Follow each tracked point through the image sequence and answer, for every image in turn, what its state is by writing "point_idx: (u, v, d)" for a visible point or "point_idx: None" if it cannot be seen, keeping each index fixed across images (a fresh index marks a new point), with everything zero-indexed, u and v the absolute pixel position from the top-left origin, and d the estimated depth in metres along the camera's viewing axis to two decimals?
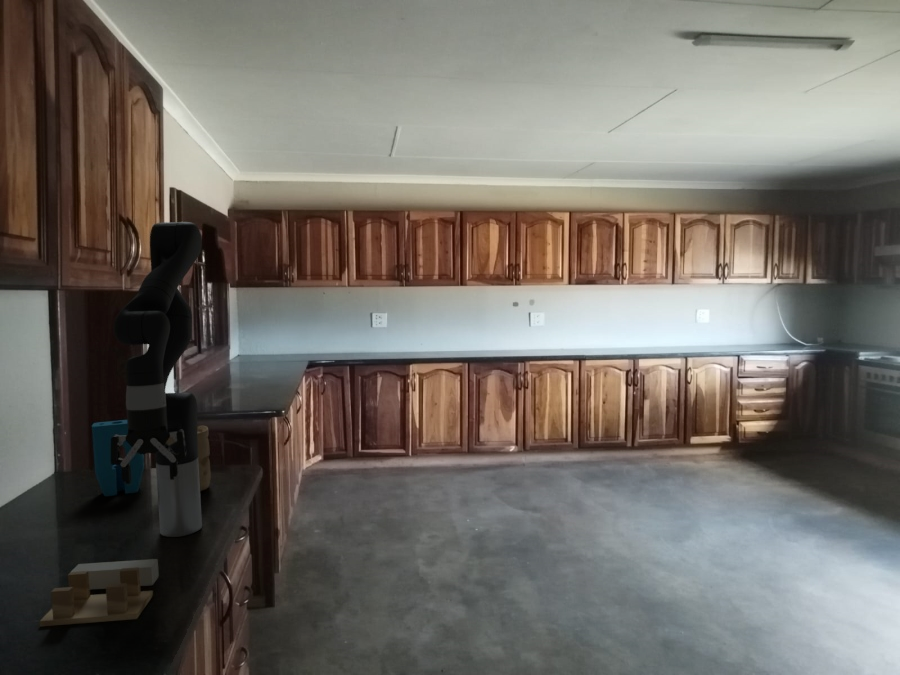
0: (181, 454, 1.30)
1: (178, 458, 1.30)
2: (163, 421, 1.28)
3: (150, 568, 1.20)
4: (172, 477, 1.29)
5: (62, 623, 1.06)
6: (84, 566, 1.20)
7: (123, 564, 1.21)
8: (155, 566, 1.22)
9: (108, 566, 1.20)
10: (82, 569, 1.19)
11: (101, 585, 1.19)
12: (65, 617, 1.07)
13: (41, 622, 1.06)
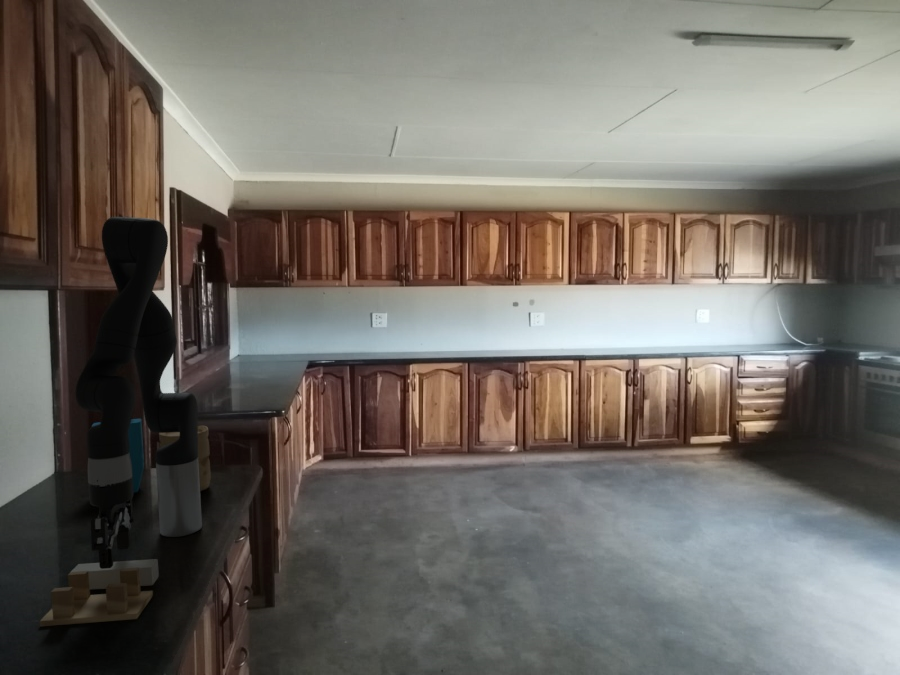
0: (132, 518, 1.26)
1: None
2: None
3: (150, 568, 1.19)
4: (129, 545, 1.24)
5: (62, 623, 1.06)
6: (84, 566, 1.20)
7: (123, 564, 1.21)
8: (155, 566, 1.22)
9: None
10: (82, 569, 1.19)
11: (101, 585, 1.19)
12: (65, 617, 1.07)
13: (41, 622, 1.06)
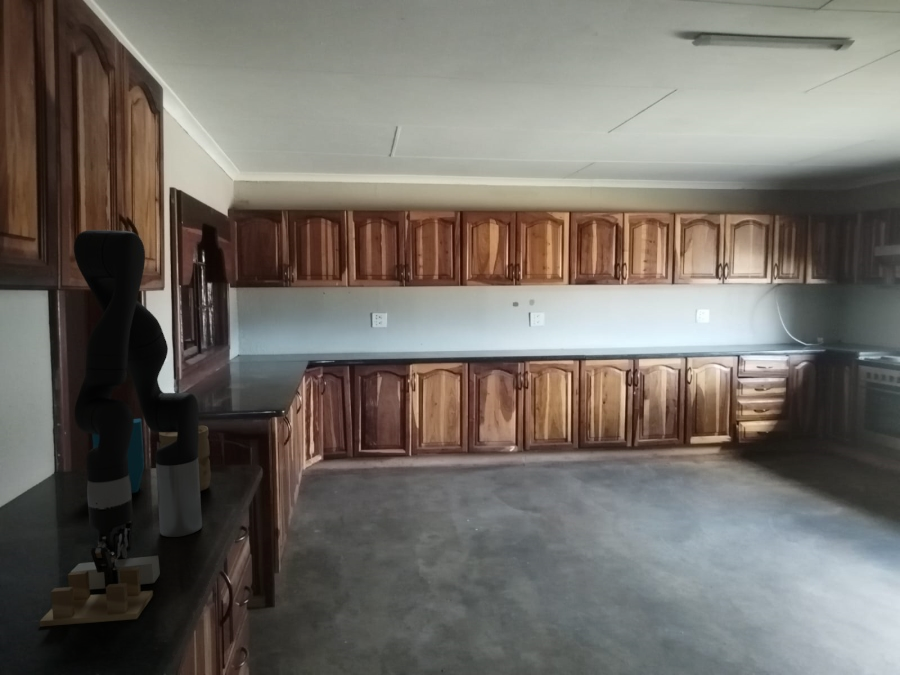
0: (129, 546, 1.25)
1: None
2: None
3: (150, 565, 1.20)
4: None
5: (62, 623, 1.06)
6: (85, 565, 1.20)
7: (124, 562, 1.21)
8: (156, 562, 1.22)
9: None
10: (83, 568, 1.19)
11: (102, 583, 1.19)
12: (65, 617, 1.07)
13: (41, 622, 1.06)
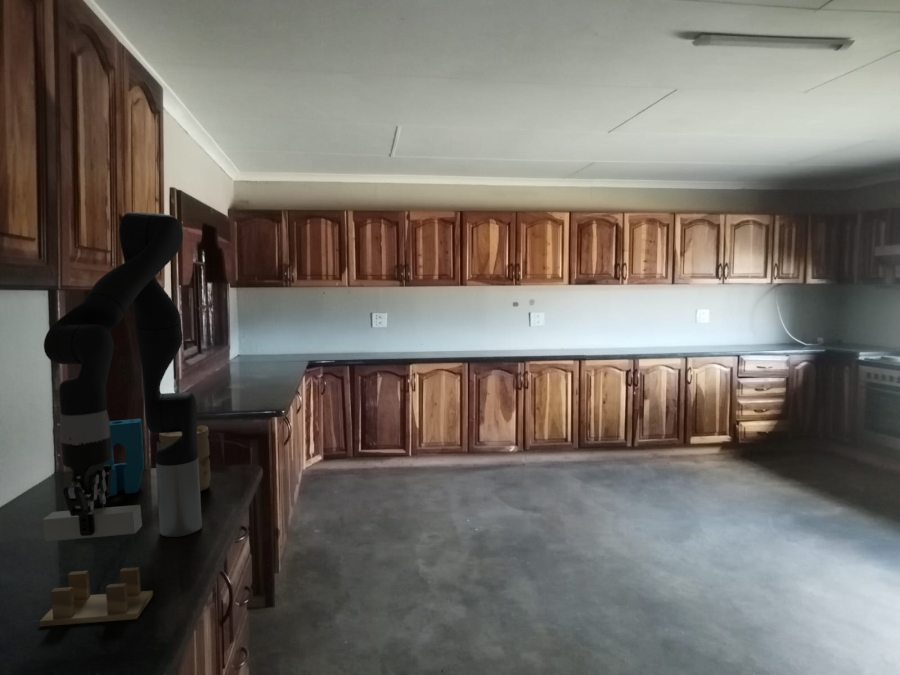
0: (108, 492, 1.13)
1: None
2: None
3: (131, 513, 1.08)
4: None
5: (62, 623, 1.06)
6: (59, 513, 1.09)
7: (102, 510, 1.09)
8: (138, 512, 1.11)
9: None
10: (56, 516, 1.08)
11: (78, 533, 1.07)
12: (65, 617, 1.07)
13: (41, 622, 1.06)
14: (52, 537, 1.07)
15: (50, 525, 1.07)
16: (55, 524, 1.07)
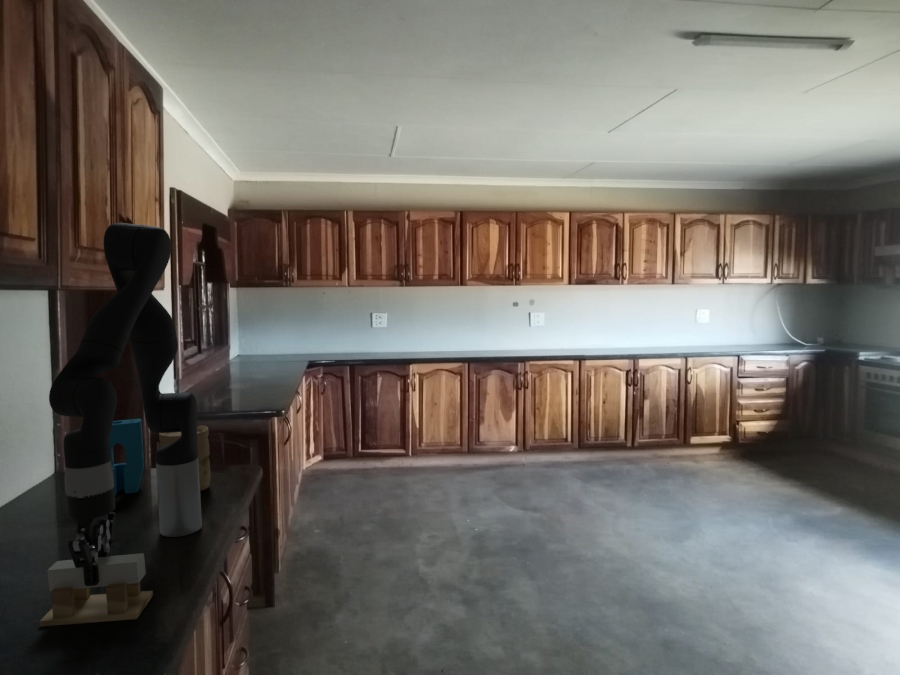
0: (112, 540, 1.14)
1: None
2: None
3: (135, 563, 1.09)
4: None
5: (62, 623, 1.06)
6: (63, 563, 1.10)
7: (106, 560, 1.10)
8: (141, 560, 1.12)
9: None
10: (61, 566, 1.09)
11: (82, 583, 1.08)
12: (65, 617, 1.07)
13: (41, 622, 1.06)
14: (57, 587, 1.08)
15: (55, 576, 1.08)
16: (60, 575, 1.08)
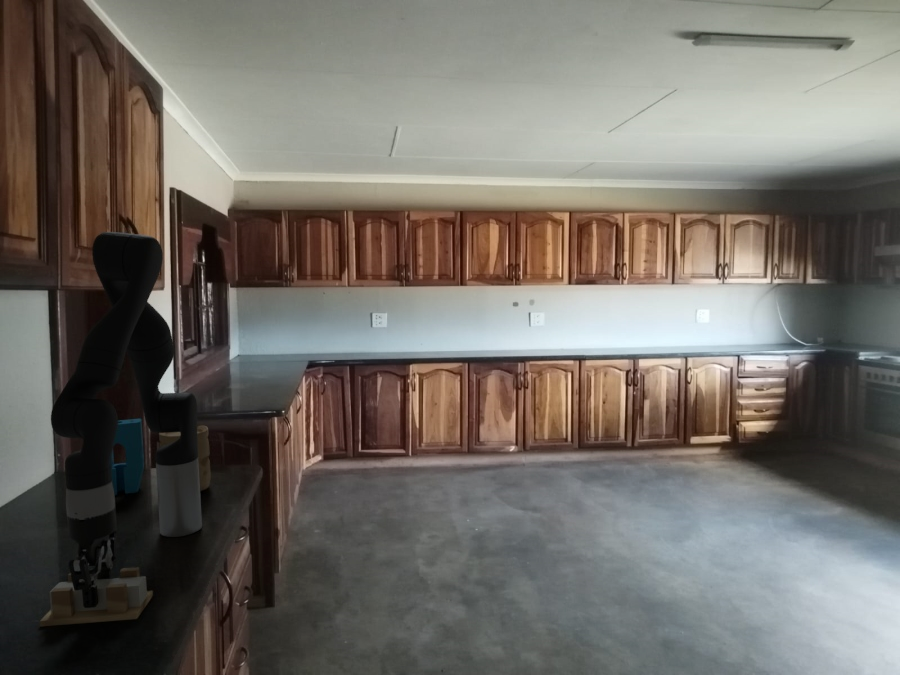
0: (115, 556, 1.15)
1: None
2: None
3: (137, 587, 1.10)
4: None
5: (62, 623, 1.06)
6: (65, 585, 1.10)
7: (108, 582, 1.11)
8: (143, 584, 1.12)
9: None
10: None
11: None
12: (65, 617, 1.07)
13: (41, 622, 1.06)
14: None
15: None
16: None
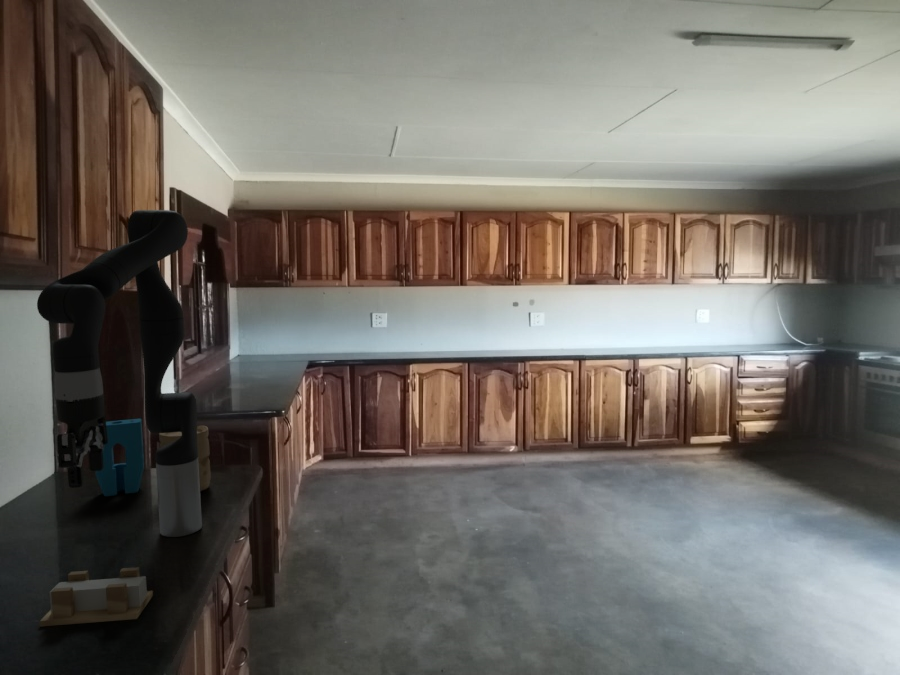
0: (106, 439, 1.19)
1: None
2: None
3: (137, 587, 1.10)
4: (103, 466, 1.18)
5: (62, 623, 1.06)
6: (65, 585, 1.10)
7: (108, 582, 1.11)
8: (143, 584, 1.12)
9: (92, 585, 1.10)
10: None
11: (84, 606, 1.09)
12: (65, 617, 1.07)
13: (41, 622, 1.06)
14: None
15: None
16: None
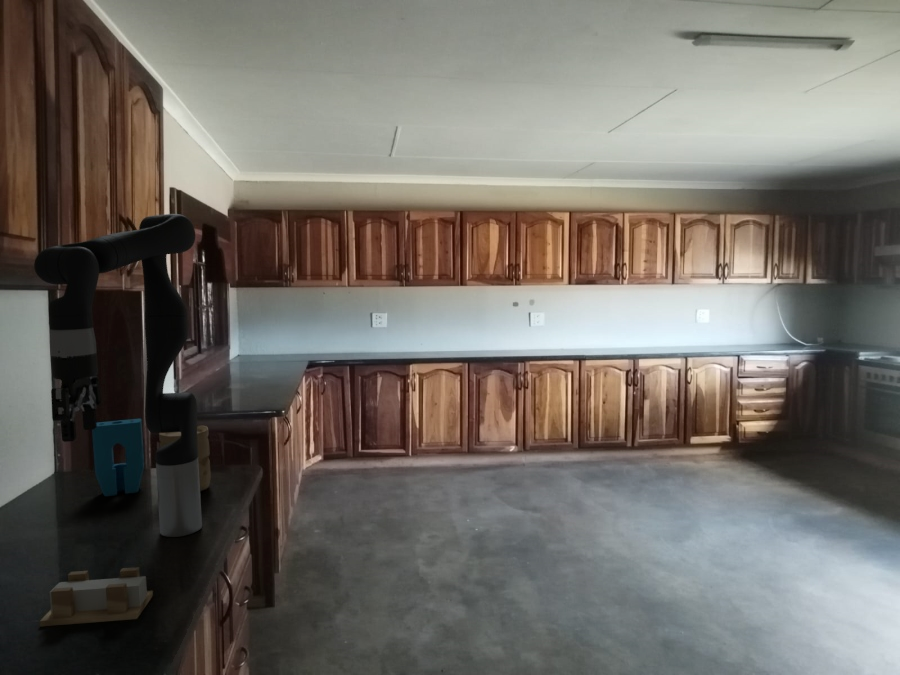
0: (99, 400, 1.24)
1: None
2: None
3: (137, 587, 1.10)
4: (96, 426, 1.22)
5: (62, 623, 1.06)
6: (65, 585, 1.10)
7: (108, 582, 1.11)
8: (143, 584, 1.12)
9: (92, 585, 1.10)
10: None
11: (84, 606, 1.09)
12: (65, 617, 1.07)
13: (41, 622, 1.06)
14: None
15: None
16: None
